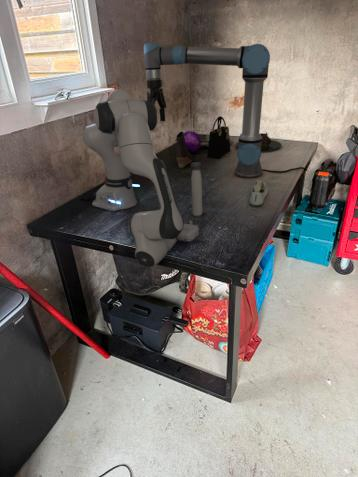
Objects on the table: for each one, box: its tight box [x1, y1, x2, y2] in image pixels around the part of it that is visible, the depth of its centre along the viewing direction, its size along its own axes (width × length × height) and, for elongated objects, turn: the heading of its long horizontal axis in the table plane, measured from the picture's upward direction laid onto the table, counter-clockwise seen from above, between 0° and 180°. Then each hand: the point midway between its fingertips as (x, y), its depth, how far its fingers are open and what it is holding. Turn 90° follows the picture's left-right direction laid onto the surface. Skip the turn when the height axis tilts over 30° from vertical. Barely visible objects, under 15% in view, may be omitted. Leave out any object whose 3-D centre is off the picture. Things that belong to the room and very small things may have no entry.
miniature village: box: [235, 132, 282, 154], centre depth 237 cm, size 32×35×9 cm
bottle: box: [190, 169, 203, 217], centre depth 143 cm, size 4×4×23 cm
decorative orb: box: [183, 130, 201, 154], centre depth 230 cm, size 15×15×15 cm
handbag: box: [206, 115, 231, 159], centre depth 220 cm, size 21×9×25 cm, turn 148°
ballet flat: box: [249, 179, 269, 207], centre depth 158 cm, size 8×24×8 cm, turn 163°
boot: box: [175, 131, 194, 169], centre depth 209 cm, size 9×24×20 cm, turn 168°
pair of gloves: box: [199, 134, 234, 149], centre depth 251 cm, size 30×26×5 cm
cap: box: [190, 161, 202, 171], centre depth 137 cm, size 4×4×2 cm
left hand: (180, 220), depth 131 cm, fingers open, 8 cm apart
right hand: (157, 123), depth 174 cm, fingers open, 13 cm apart
